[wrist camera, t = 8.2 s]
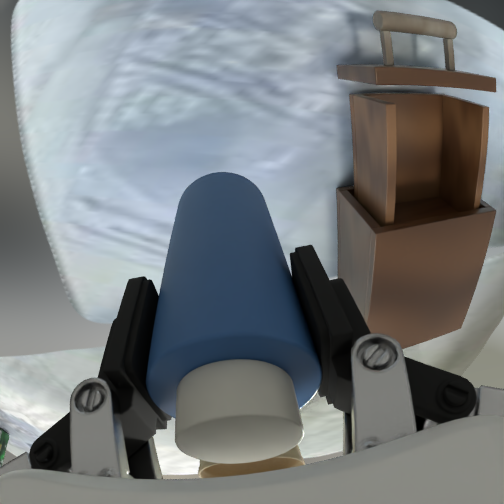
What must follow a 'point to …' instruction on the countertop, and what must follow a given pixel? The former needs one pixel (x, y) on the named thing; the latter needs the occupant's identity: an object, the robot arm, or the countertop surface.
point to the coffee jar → (3, 444)
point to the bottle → (230, 329)
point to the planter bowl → (251, 465)
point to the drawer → (416, 131)
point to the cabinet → (411, 268)
